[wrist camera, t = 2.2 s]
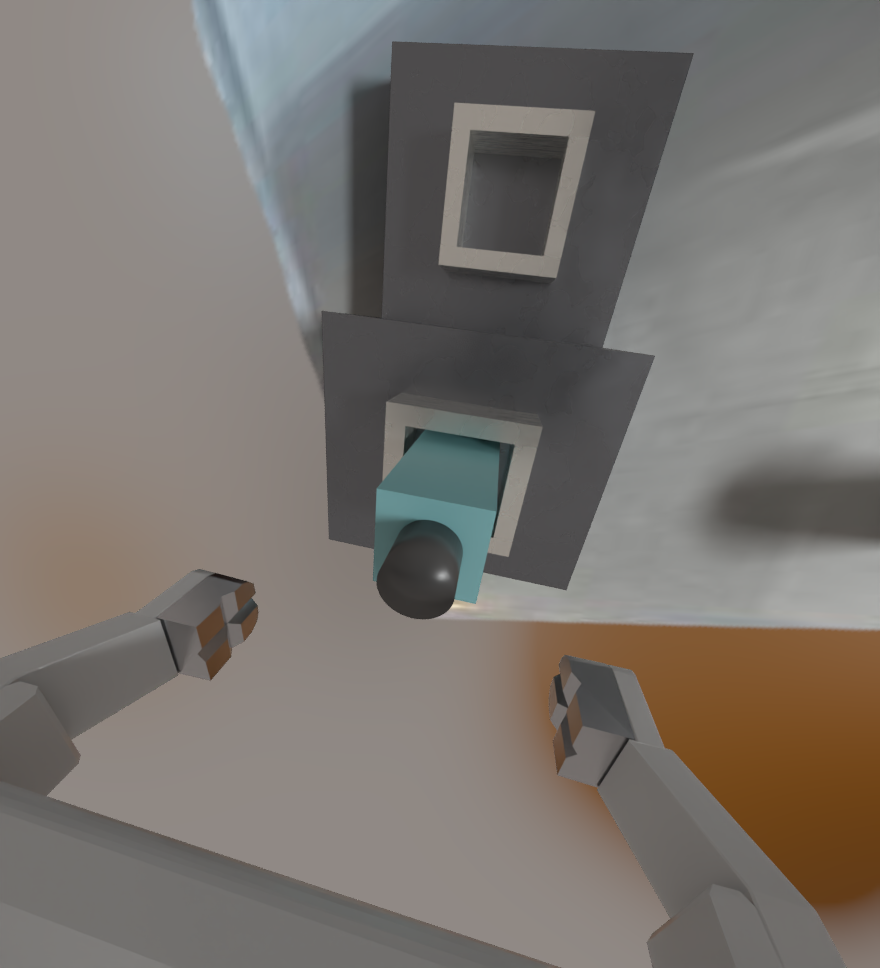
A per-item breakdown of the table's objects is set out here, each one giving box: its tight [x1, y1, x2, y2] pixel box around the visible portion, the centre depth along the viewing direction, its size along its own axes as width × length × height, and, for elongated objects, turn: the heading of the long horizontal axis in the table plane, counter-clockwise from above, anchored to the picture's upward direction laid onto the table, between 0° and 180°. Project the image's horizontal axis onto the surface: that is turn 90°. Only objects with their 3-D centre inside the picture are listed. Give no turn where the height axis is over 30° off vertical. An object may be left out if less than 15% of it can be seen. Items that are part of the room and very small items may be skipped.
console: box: [322, 42, 694, 590], centre depth 20 cm, size 28×16×14 cm, turn 173°
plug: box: [373, 429, 500, 619], centre depth 14 cm, size 5×4×10 cm
